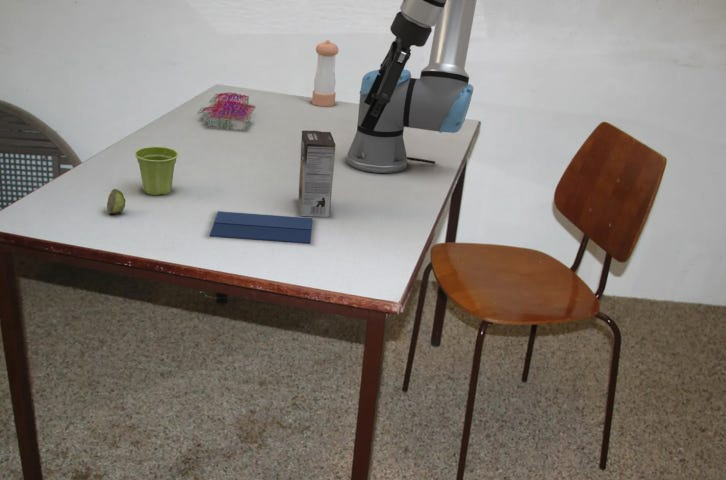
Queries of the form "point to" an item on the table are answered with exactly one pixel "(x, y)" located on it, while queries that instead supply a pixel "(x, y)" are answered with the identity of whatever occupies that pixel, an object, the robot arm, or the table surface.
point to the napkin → (262, 227)
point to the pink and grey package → (227, 110)
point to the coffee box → (316, 173)
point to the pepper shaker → (325, 75)
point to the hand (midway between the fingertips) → (368, 116)
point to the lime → (115, 202)
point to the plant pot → (156, 168)
